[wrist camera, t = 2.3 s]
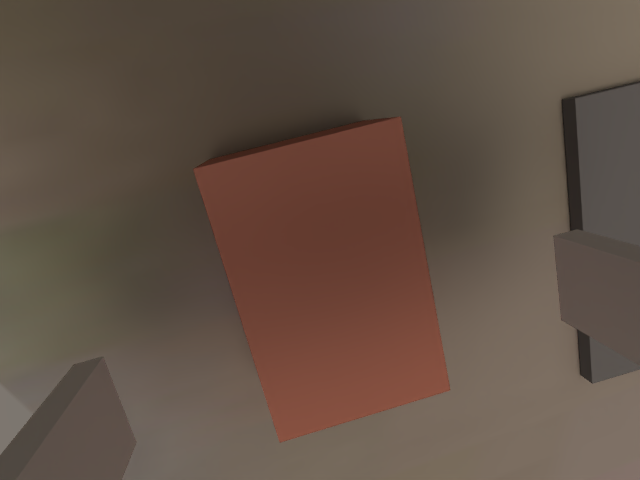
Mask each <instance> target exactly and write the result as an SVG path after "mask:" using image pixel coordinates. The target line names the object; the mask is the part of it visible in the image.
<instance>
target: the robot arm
mask: <svg viewBox="0 0 640 480" xmlns="http://www.w3.org/2000/svg"><path fill="white" fill-rule="evenodd" d="M554 247H555V258H556V269H557V280H558V291H559V302H560V312H561V320H562V321H564V322H566V323H567V324H569V325H571V326H573V327H574V328H576V329H578V330H579V331H581V332H583V333H585V334H586V335H588V336H590V337H592V338H593V339H595V340H597V341H598V342H600V343H602V344H604V345H605V346H607V347H609V348H610V349H612V350H614V351H616V352H617V353H619V354H621V355H623V356H624V357H626V358H628V359H629V360H631V361H633V362H635V363H636V364H638V365H640V246H637V245H634V244H630V243H626V242H622V241H619V240H615V239H611V238H608V237H604V236H600V235H597V234H593V233H589V232H585V231H582V230H578V229H576V230H573V231H569V232H565V233H561V234H558V235H554ZM135 445H136V440H135V437H134V435H133V432H132V430H131V427H130V424H129V422H128V419H127V417H126V414H125V412H124V409H123V406H122V404H121V401H120V399H119V396H118V394H117V391H116V388H115V386H114V383H113V381H112V378H111V376H110V373H109V370H108V368H107V365H106V363H105V360H104V358H103V357H100V358H96V359H92V360H89V361H85V362H81V363H77V364H74V365H73V366H72V368H71V369H70V370H69V371H68V372H67V374H66V375H65V376H64V377H63V379H62V380H61V381H60V382H59V384H58V385H57V386H56V387H55V388H54V390H53V391H52V392H51V393H50V395H49V396H48V397H47V398H46V399H45V401H44V402H43V403H42V404H41V406H40V407H39V408H38V409H37V411H36V412H35V413H34V414H33V415H32V417H31V418H30V419H29V420H28V422H27V423H26V424H25V425H24V427H23V428H22V429H21V430H20V432H19V433H18V434H17V435H16V436H15V438H14V439H13V440H12V441H11V443H10V444H9V445H8V446H7V448H6V449H5V450H4V451H3V452H2V454H1V455H0V480H122V478H123V475H124V472H125V470H126V467H127V465H128V462H129V460H130V457H131V455H132V452H133V450H134V447H135Z"/></svg>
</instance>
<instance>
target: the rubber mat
mask: <svg viewBox="0 0 640 480" xmlns="http://www.w3.org/2000/svg"><path fill="white" fill-rule="evenodd" d="M562 104H563V119H564V133H565V148H566V163H567V178H568V192H569V207H570V222H571V231H573V230H576V229H578V230H582V231H585V232H589V233H593V234H597V235H600V236H604V237H608V238H611V239H615V240H619V241H622V242H626V243H630V244H634V245H637V246H640V81H639V82H635V83H631V84H627V85H623V86H618V87H614V88H610V89H606V90H602V91H597V92H593V93H589V94H585V95H581V96H576V97H572V98H568V99H564V100H562ZM578 340H579V355H580V369H581V376H583V377H584V378H585V379H587V380H588V381H589V382H591V383H592V384H593V383H596V382H599V381H603V380H606V379H609V378H613V377H616V376H619V375H623V374H626V373H629V372H633V371H636V370H640V365H638V364H636V363H635V362H633V361H631V360H629V359H628V358H626V357H624V356H623V355H621V354H619V353H617V352H616V351H614V350H612V349H610V348H609V347H607V346H605V345H604V344H602V343H600V342H598V341H597V340H595V339H593V338H592V337H590V336H588V335H586V334H585V333H583V332H581V331H579V330H578Z"/></svg>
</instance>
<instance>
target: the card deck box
mask: <svg viewBox="0 0 640 480" xmlns="http://www.w3.org/2000/svg"><path fill="white" fill-rule="evenodd" d="M193 170H194V173H195V177H196V180H197V183H198V186H199V189H200V192H201V196H202V199H203V202H204V205H205V208H206V211H207V214H208V218H209V221H210V224H211V227H212V230H213V233H214V237H215V240H216V243H217V246H218V249H219V252H220V255H221V259H222V262H223V265H224V268H225V271H226V274H227V278H228V281H229V284H230V287H231V290H232V293H233V296H234V300H235V303H236V306H237V309H238V312H239V315H240V319H241V322H242V325H243V328H244V331H245V334H246V337H247V341H248V344H249V347H250V350H251V353H252V356H253V360H254V363H255V366H256V369H257V372H258V375H259V378H260V382H261V385H262V388H263V391H264V394H265V397H266V400H267V404H268V407H269V410H270V413H271V416H272V419H273V423H274V426H275V429H276V432H277V435H278V438H279V441H280V442H283V441H287V440H290V439H293V438H296V437H300V436H303V435H306V434H309V433H313V432H316V431H319V430H322V429H326V428H329V427H332V426H335V425H339V424H342V423H345V422H348V421H352V420H355V419H358V418H362V417H365V416H368V415H371V414H375V413H378V412H381V411H384V410H388V409H391V408H394V407H397V406H401V405H404V404H407V403H410V402H414V401H417V400H420V399H423V398H427V397H430V396H433V395H436V394H440V393H443V392H446V391H449V390H450V385H449V380H448V374H447V369H446V363H445V358H444V352H443V347H442V341H441V336H440V330H439V325H438V319H437V314H436V308H435V303H434V297H433V292H432V286H431V280H430V275H429V269H428V264H427V258H426V253H425V247H424V242H423V236H422V231H421V225H420V220H419V214H418V209H417V203H416V198H415V192H414V187H413V181H412V176H411V170H410V164H409V159H408V153H407V148H406V142H405V137H404V131H403V126H402V120H401V117H392V118H383V119H374V120H364V121H360V122H356V123H352V124H348V125H344V126H340V127H336V128H332V129H328V130H324V131H320V132H316V133H312V134H308V135H304V136H300V137H296V138H292V139H288V140H284V141H280V142H277V143H273V144H269V145H265V146H261V147H257V148H253V149H249V150H245V151H241V152H237V153H233V154H229V155H225V156H221V157H217V158H213V159H209V160H208V161H206V162H204V163H203V164H201V165H199V166H197V167H196V168H194V169H193Z"/></svg>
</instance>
